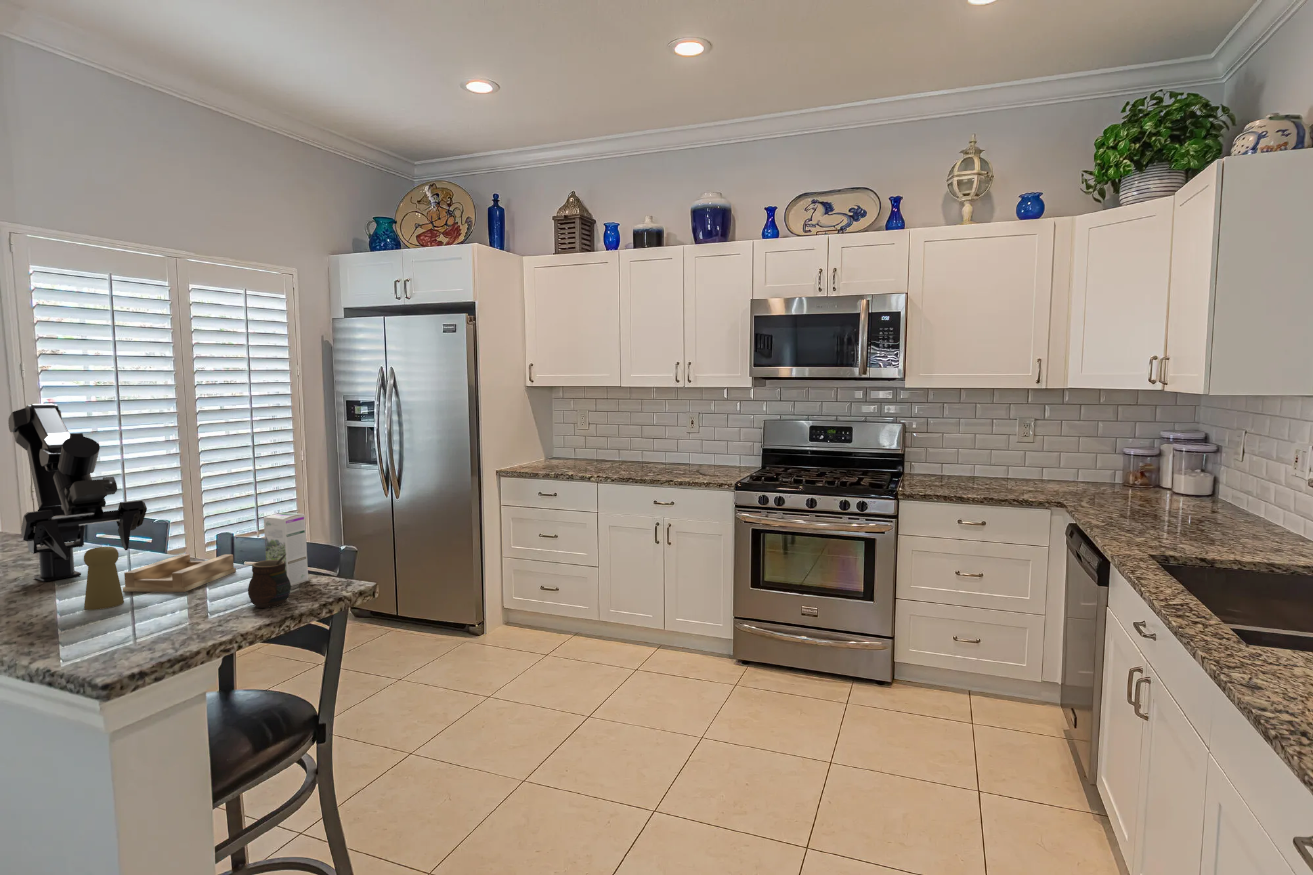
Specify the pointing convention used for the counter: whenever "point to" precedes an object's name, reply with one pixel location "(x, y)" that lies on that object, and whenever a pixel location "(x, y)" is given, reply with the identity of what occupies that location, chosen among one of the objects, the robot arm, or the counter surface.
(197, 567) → the track
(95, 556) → the olive pepper mill
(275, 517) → the syrup box
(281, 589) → the mate gourd
